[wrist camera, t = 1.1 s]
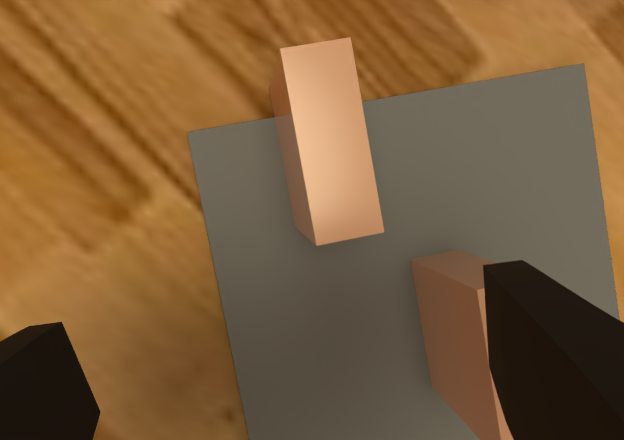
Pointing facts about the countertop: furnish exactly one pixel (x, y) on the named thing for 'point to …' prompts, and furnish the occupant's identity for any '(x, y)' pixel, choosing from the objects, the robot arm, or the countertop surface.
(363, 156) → the tile near
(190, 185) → the countertop surface
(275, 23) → the countertop surface
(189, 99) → the countertop surface
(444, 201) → the mat
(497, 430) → the tile far
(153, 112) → the countertop surface
